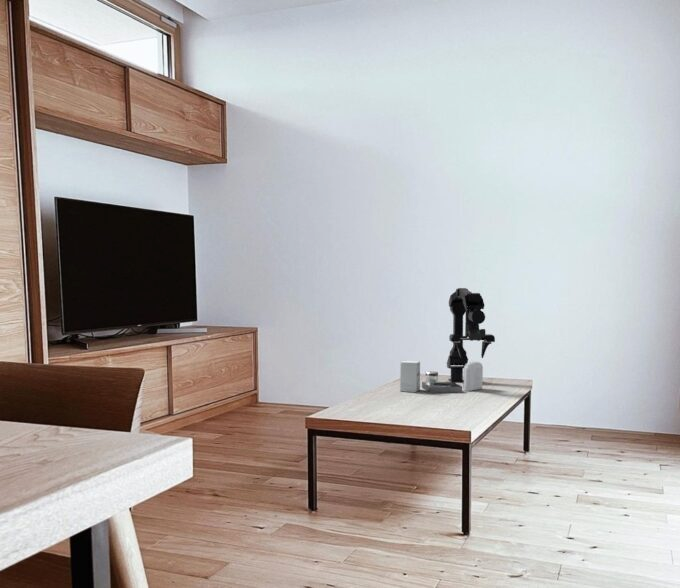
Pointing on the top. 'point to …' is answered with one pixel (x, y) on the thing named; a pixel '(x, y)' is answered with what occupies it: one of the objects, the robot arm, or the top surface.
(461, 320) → the robot arm
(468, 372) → the photo printer
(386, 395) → the top surface
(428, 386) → the mount plate
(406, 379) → the supplement box
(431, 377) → the lens
